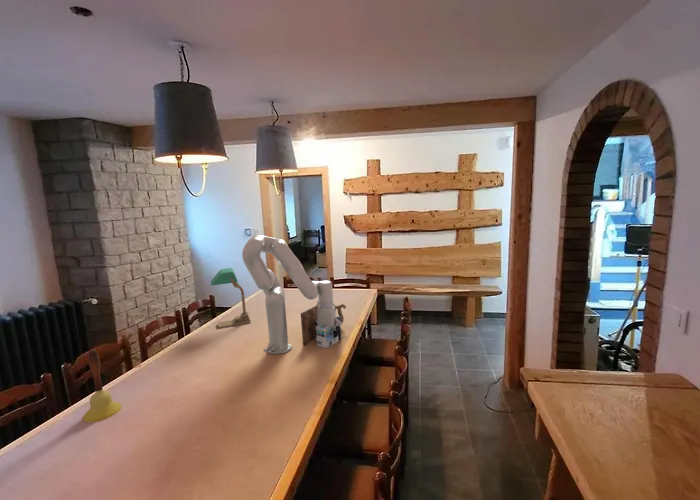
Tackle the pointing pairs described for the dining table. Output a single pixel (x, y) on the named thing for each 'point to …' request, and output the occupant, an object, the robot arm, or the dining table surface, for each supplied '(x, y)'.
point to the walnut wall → (308, 325)
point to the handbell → (99, 394)
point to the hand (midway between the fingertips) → (327, 335)
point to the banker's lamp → (229, 277)
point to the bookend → (339, 330)
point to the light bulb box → (325, 336)
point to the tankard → (339, 311)
